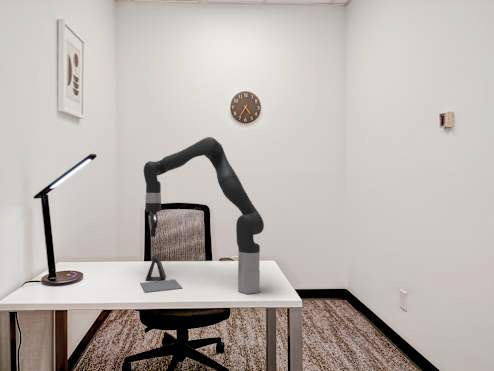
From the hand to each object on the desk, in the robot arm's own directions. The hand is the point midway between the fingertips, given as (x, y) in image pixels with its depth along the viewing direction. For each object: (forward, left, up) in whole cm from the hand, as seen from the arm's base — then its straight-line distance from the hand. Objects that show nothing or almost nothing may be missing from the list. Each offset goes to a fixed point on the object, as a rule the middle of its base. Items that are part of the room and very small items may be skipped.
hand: (152, 236), depth 184 cm
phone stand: (-9, 0, -19) cm, 21 cm away
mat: (-21, 0, -19) cm, 28 cm away
